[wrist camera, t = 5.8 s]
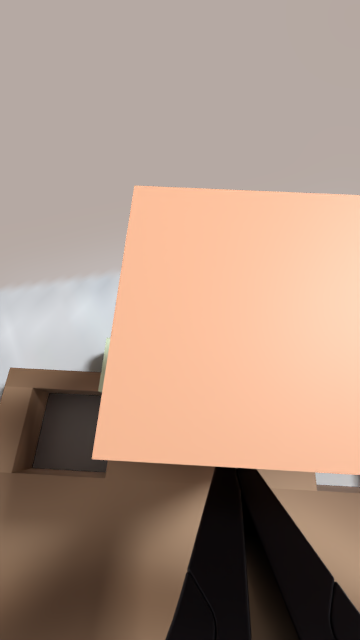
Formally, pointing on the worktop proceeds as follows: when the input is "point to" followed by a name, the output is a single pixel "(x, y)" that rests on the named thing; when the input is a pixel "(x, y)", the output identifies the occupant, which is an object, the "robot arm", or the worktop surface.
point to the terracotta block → (236, 332)
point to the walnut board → (123, 529)
